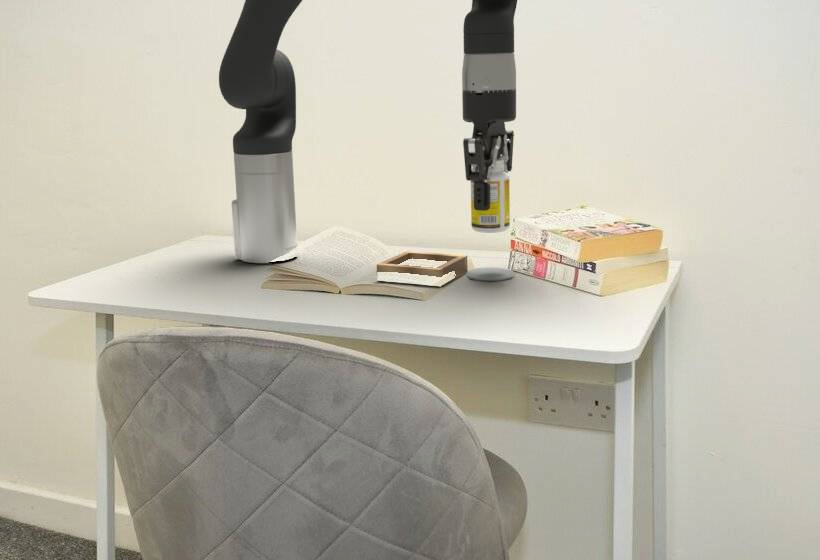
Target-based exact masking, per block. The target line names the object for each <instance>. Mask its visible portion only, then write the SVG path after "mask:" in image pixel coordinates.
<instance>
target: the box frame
mask: <svg viewBox="0 0 820 560" xmlns="http://www.w3.org/2000/svg"><path fill="white" fill-rule="evenodd" d="M412 258H413V259H427V260H435V261H447V263H445V264H443V265H441V266H439V267H437V268H433V267H421V266H409V265H398V264H400V263H402V262H404V261H406V260H408V259H412ZM468 269H469V267H468V255H464V254H453V253H452V254H450V253H440V252H439V253H438V252H437V253H435V252H423V251H413V250H412V251H411V250H406V251H403V252H402V253H399V254H397V255H395V256H392V257H390V258H388V259H386V260H383V261H381V262H379V263H377V264H376V273H377V272H398V273H410V274H419V275H428V276H436V277H442V276H443V275H445V274H448V273H449V272H452V271H455V274H456V276H455V275H454V276H455V278H456V279H457V278H460V277H461V276H463V275H464V274H465V275H466V272H467V271H469V270H468Z"/></svg>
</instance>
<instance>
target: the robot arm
mask: <svg viewBox="0 0 820 560" xmlns="http://www.w3.org/2000/svg"><path fill="white" fill-rule="evenodd" d="M471 1H472V2H471V9H470V11H469V12H468V13H467V14H466V15H465V17H464V21H463V29H462V30H463V59H462V61H463V62H462V68H461V70H462V71H461V79H462V80H461V81H462V82H461V84H462V85H461V89H462V94H461V95H462V120H463V121H464V122H465V123H472V124H473V127H472V128H473V129H472V135H471V137H470V138H469V137H466V138H465V137H464V138H463V141H462V146H463V156H464V170H465V179H466V181H470V184H471V183H474V209H475V210H484V211H486V210H488V209H490V184H489V183H490V177H491V170H492V169H493V168H495V166H496V159H503V160H504V170H503V171H502V172H506V173H508V174H509V172H512V170H513V156H514V155H513V154H514V136H515V134H514V130H506V129H507V128H506V124H505V123H509V122H513V121H515V120H516V118H517V67H516V59H515V24H514V23H515V21H514V20H515V14H516V9H517V5H518V0H471ZM302 2H303V0H244V4H243V6H242V9H241V12H240V15H239V18H238V21H237V23H236V25H235V28H234V30H233V33H232V35H231V37H230V40H229V43H228V45H227V47H226V49H225V51H224V54H223V57H222V60H221V63H220V67H219V71H218V87H219V90H220V94H221V95H222V97H223V99H224V100H225V102H226V103H227V104H228V105H230V106H231V107H233V108H235V109H239V110H245V119H244V122H243V124H242V126H241V127H240V128H239V130H238V131H236V132H235V134H233V136H232V137H233V138H232V151H233V163H234V164H233V165H234V166H233V167H234V176H235V177H234V178H235V180H234V181H235V193H236V199H233V200H232V201H231V216H232V228H233V229H232V230H233V232H232V233H233V243H234V247H233V248H234V258H235V260H241V261H242V262H246V263H250V264H251V263H252V264H253V263H254V264H270V263H269V262H270V261H272V260H274V259H276V258H278V257H280V256H283V255H285V254H287V253H289V252H290V251H292V250H293V249H295V248H296V247H297V248H298V241H297V240H298V239H297V219H296V218H297V217H296V200H295V199H296V198H295V182H294V181H295V179H294V178H295V177H294V161H293V138H294V135H295V132H296V130H297V129H296V128H297V85H296V75H295V70H294V68H293V65H292V62H291V61H290V59H289V57H288V56H287V55H286V54H285V53H283V51H281V50H279V49H277V48H278V45H279V42H280V40H281V39H280V38H281V36H282V34H283V31H284V29H285V28H286V25H287V24H288V22H289V20H290V18H291V16H293V14H294V12H295V11H296V10H297V8H299V6H300V5H301V3H302ZM478 170H479V172H478Z"/></svg>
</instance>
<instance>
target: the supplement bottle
mask: <svg viewBox="0 0 820 560" xmlns="http://www.w3.org/2000/svg"><path fill="white" fill-rule="evenodd" d="M503 170H504V160H503V159H496V166H495V168H493V169H492V170H491V177H490V183H489V184H490V209H488V210H486V211H484V210H475V209H474V183H471V182H470V213H471V214H470V215H471V217H470V221H471V222H470V223H471V229H472V230H473V231H475V232H478V233H482V234H483V233H485V234H486V233H487V234H493V233H502V232H506V231H508V230H509V229H510V226H511V225H510V224H511V223H510V222H511V216H510V215H511V214H510V213H511V212H510V206H511V205H510V204H511V203H510V197H511V196H510V175H509V172H508V173H506V172H502V171H503ZM478 172H479V170H478Z"/></svg>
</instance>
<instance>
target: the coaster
mask: <svg viewBox="0 0 820 560" xmlns="http://www.w3.org/2000/svg"><path fill="white" fill-rule="evenodd" d="M465 275H466V278H468V279H470V280H474V281H480V282H500V281H507V280H510V279H513V278H514V277H515V271H513V270H511V269H507V268H503V267H502V268H501V267H477V268H473V269H470V270H468V271H467V272H466V273H465Z"/></svg>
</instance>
